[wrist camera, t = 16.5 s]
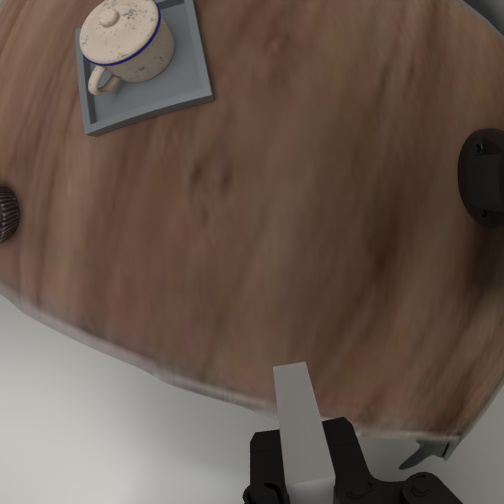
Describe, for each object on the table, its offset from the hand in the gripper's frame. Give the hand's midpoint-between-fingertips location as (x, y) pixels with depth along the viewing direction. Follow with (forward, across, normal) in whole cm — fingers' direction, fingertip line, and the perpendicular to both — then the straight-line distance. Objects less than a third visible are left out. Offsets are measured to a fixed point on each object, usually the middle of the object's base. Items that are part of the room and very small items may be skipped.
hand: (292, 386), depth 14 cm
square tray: (+26, +11, -27) cm, 39 cm away
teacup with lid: (+25, +12, -27) cm, 38 cm away
